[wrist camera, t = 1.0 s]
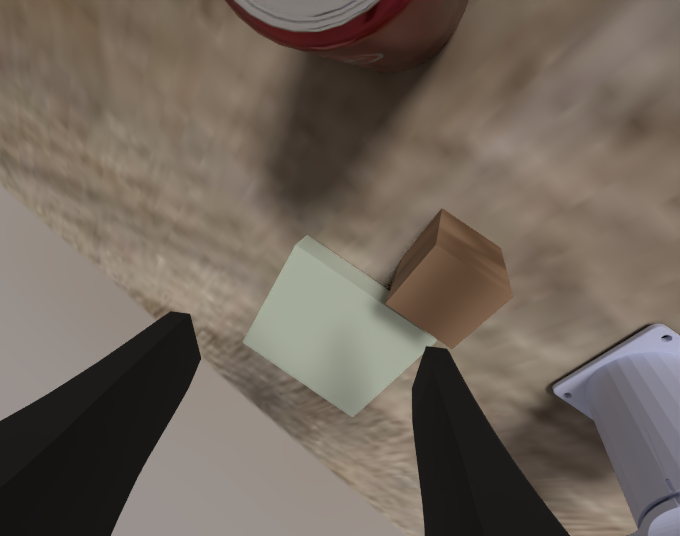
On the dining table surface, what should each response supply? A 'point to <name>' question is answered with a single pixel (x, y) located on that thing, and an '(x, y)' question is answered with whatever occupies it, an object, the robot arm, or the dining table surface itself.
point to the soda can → (357, 28)
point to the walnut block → (450, 280)
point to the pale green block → (334, 329)
